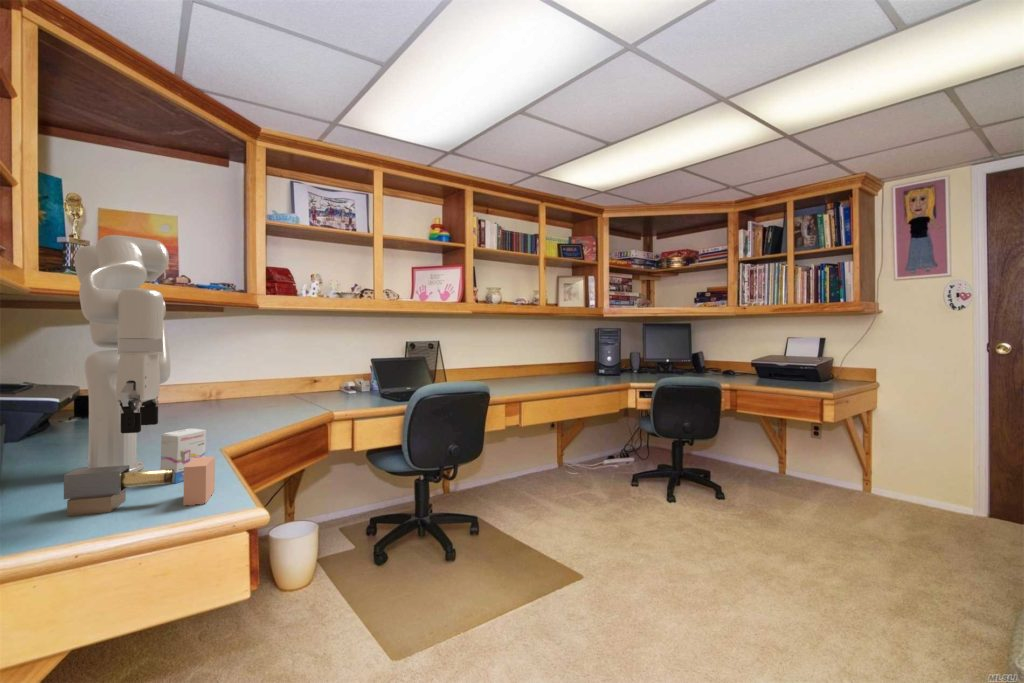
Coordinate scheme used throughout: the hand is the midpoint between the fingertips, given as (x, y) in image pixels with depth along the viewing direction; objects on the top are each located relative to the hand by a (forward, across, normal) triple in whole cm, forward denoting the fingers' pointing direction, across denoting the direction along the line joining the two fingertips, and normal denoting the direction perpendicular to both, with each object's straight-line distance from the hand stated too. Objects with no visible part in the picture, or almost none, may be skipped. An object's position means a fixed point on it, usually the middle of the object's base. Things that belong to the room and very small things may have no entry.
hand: (140, 428), depth 98 cm
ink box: (+16, -19, +3) cm, 25 cm away
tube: (+12, -1, -2) cm, 12 cm away
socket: (+16, -1, +11) cm, 19 cm away
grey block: (+16, -1, -7) cm, 18 cm away
